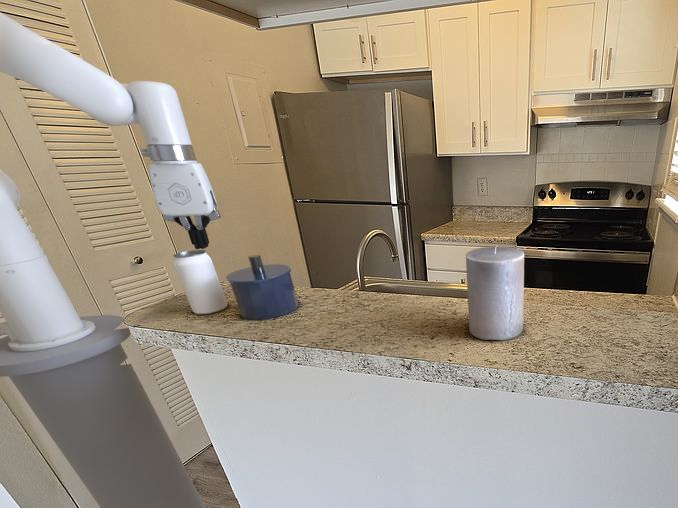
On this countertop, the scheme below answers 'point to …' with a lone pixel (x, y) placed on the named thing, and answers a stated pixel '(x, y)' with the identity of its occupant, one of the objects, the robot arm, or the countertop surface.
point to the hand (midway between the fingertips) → (202, 247)
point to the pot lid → (257, 272)
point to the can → (200, 281)
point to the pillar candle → (495, 292)
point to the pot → (265, 298)
